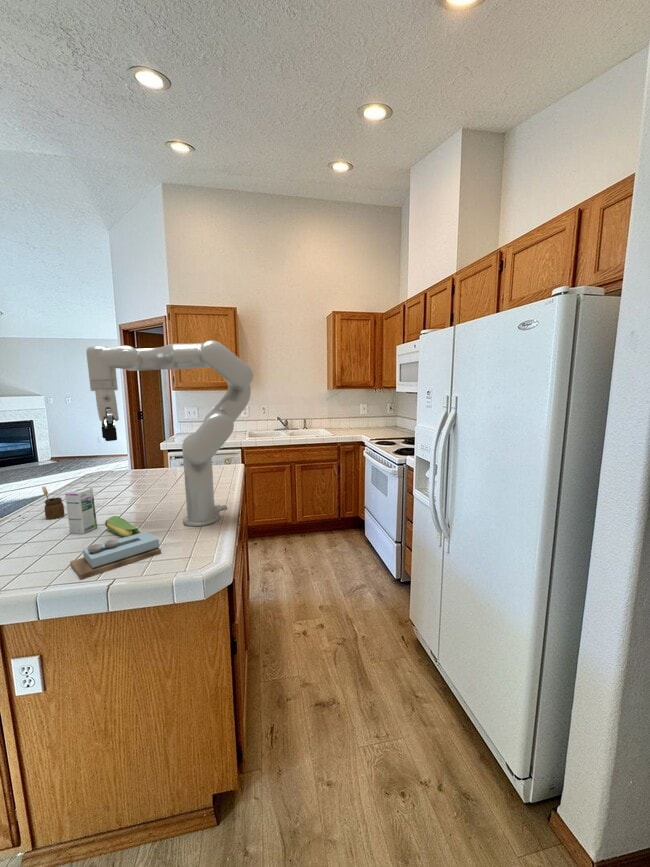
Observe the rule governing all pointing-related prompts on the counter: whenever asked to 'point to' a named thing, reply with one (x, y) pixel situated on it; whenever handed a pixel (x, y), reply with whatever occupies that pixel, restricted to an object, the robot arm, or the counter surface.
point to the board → (86, 570)
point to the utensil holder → (53, 506)
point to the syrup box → (81, 510)
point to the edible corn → (121, 527)
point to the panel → (122, 549)
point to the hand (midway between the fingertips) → (109, 439)
